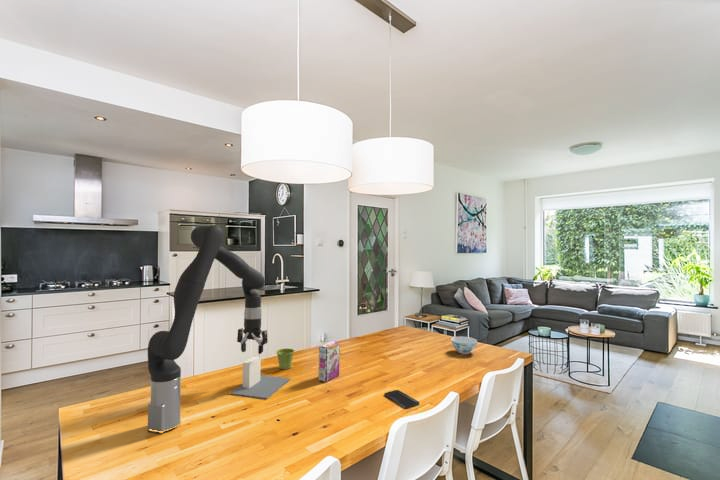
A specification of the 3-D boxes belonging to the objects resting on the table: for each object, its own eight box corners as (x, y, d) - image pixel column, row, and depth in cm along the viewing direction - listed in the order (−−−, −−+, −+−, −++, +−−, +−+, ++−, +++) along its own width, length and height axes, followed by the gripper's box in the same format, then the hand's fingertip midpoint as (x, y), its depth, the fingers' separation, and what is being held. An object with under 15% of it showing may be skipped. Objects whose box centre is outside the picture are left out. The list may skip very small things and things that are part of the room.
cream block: (249, 388, 154) (249, 363, 154) (242, 387, 155) (242, 362, 155) (260, 380, 163) (260, 357, 163) (253, 379, 164) (254, 356, 164)
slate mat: (266, 399, 144) (266, 397, 144) (229, 394, 149) (229, 392, 149) (290, 379, 166) (290, 378, 166) (257, 375, 170) (257, 374, 170)
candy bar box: (326, 383, 162) (326, 347, 162) (318, 380, 164) (318, 346, 165) (340, 375, 171) (340, 342, 172) (331, 373, 174) (332, 340, 174)
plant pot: (296, 369, 179) (296, 352, 179) (277, 371, 176) (277, 354, 176) (292, 363, 188) (292, 347, 188) (274, 365, 184) (275, 349, 185)
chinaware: (450, 355, 204) (450, 341, 204) (451, 347, 218) (451, 335, 219) (477, 357, 200) (477, 344, 200) (476, 350, 214) (476, 337, 214)
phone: (397, 389, 153) (420, 402, 141) (397, 392, 153) (420, 405, 141) (382, 393, 149) (405, 407, 136) (382, 396, 149) (405, 410, 136)
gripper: (234, 317, 158) (233, 353, 157) (262, 319, 154) (261, 356, 153) (243, 314, 165) (243, 349, 164) (270, 316, 161) (270, 351, 161)
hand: (252, 352), depth 159 cm, fingers open, 8 cm apart
